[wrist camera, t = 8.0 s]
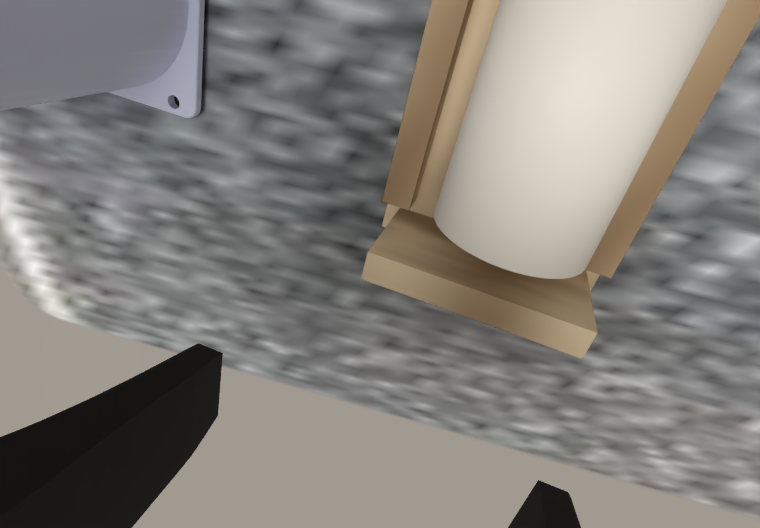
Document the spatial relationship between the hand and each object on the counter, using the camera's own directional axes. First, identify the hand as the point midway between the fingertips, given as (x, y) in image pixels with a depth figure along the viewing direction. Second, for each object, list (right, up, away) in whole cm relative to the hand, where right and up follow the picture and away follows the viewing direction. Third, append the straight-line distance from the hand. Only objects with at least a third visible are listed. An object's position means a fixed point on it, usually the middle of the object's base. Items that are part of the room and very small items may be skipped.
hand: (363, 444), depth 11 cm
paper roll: (+5, +8, +2) cm, 10 cm away
